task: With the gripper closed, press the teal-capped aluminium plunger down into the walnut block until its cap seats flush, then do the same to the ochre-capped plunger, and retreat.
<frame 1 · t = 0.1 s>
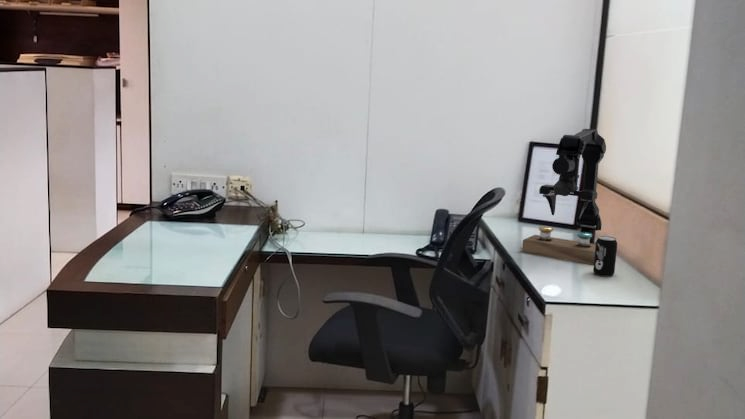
hand: (565, 216, 256), 15 cm above the table, fingers open, 9 cm apart
walnut block: (562, 255, 263), on the table
beverage can: (603, 274, 239), on the table
plunger ochre: (545, 234, 265), point 6 cm above the table, slide at 3.5 cm
plunger teal: (584, 240, 258), point 6 cm above the table, slide at 3.5 cm
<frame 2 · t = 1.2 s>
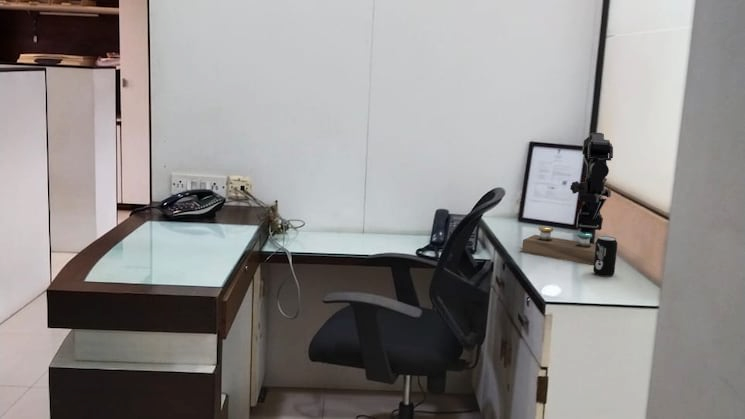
hand: (592, 218, 263), 13 cm above the table, fingers open, 3 cm apart
nothing on the table moved.
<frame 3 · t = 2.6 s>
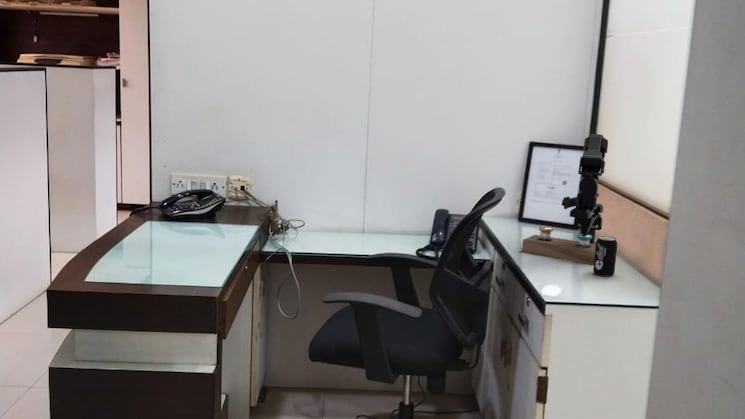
hand: (584, 234, 257), 8 cm above the table, fingers closed, pressing on plunger teal
plunger teal: (583, 242, 258), point 6 cm above the table, slide at 3.0 cm, touching gripper
everything else where it was.
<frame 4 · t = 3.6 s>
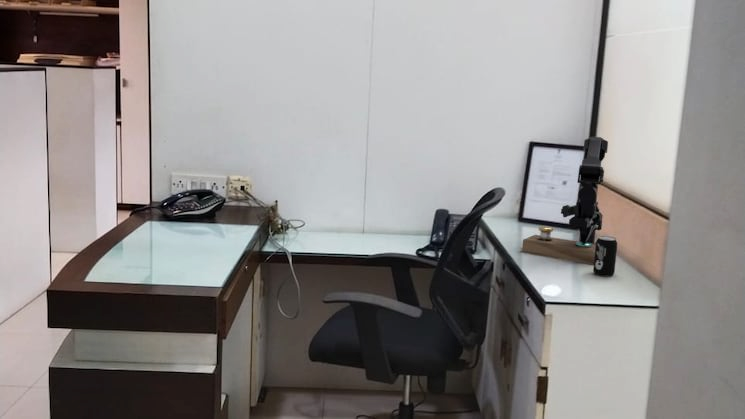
hand: (583, 243, 258), 6 cm above the table, fingers closed, pressing on plunger teal
plunger teal: (583, 250, 258), point 3 cm above the table, slide at 0.0 cm, touching gripper, walnut block
everything else where it was.
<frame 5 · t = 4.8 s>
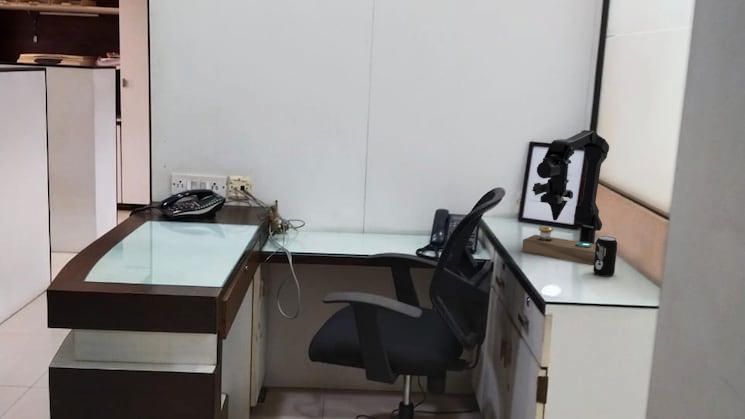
hand: (554, 220, 262), 12 cm above the table, fingers closed
plunger teal: (583, 250, 258), point 3 cm above the table, slide at 0.0 cm, touching walnut block
everything else where it was.
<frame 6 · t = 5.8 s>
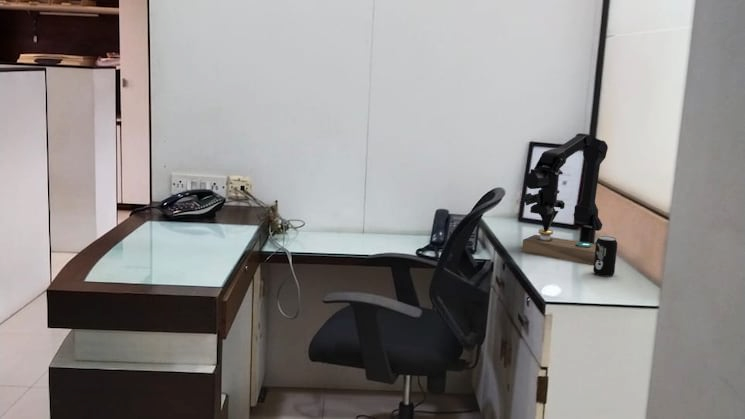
hand: (545, 230, 265), 8 cm above the table, fingers closed, pressing on plunger ochre
plunger ochre: (545, 237, 265), point 5 cm above the table, slide at 2.4 cm, touching gripper
everything else where it was.
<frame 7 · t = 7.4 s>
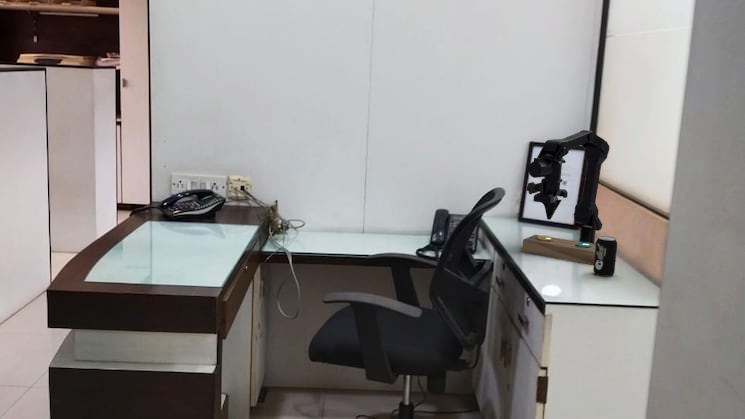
hand: (548, 219, 265), 12 cm above the table, fingers closed
plunger ochre: (544, 244, 266), point 3 cm above the table, slide at 0.0 cm, touching walnut block
everything else where it was.
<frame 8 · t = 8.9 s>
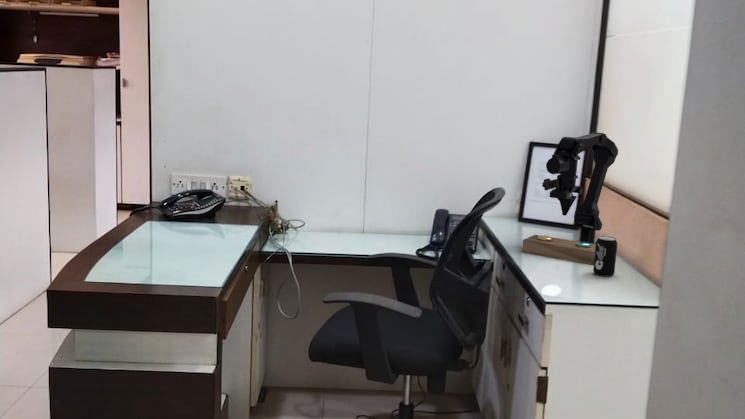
hand: (564, 215, 268), 13 cm above the table, fingers closed
nothing on the table moved.
at the end: plunger teal slide at 0.0 cm; plunger ochre slide at 0.0 cm; plunger ochre touching walnut block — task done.
